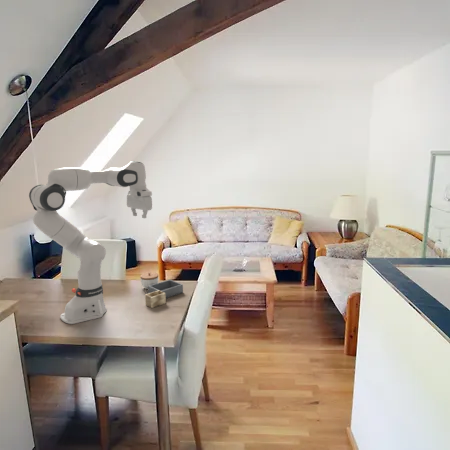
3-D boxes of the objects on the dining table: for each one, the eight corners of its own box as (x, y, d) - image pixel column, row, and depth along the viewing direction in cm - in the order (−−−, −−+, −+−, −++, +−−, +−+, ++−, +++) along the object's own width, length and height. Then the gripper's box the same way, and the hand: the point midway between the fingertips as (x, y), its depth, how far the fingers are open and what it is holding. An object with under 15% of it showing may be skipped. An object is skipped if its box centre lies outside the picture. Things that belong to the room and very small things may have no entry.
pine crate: (151, 308, 210) (151, 297, 209) (145, 305, 215) (145, 294, 213) (165, 303, 216) (165, 293, 215) (159, 300, 221) (159, 290, 219)
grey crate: (160, 300, 221) (160, 291, 220) (148, 294, 230) (148, 286, 229) (183, 292, 231) (182, 284, 230) (170, 287, 240) (170, 279, 239)
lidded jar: (157, 290, 235) (156, 275, 233) (139, 290, 236) (138, 275, 234) (160, 284, 246) (159, 269, 244) (143, 284, 246) (142, 269, 244)
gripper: (123, 190, 220) (124, 215, 222) (143, 193, 205) (144, 220, 208) (133, 189, 224) (134, 213, 227) (153, 192, 209) (154, 218, 212)
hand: (139, 216), depth 217 cm, fingers open, 8 cm apart
